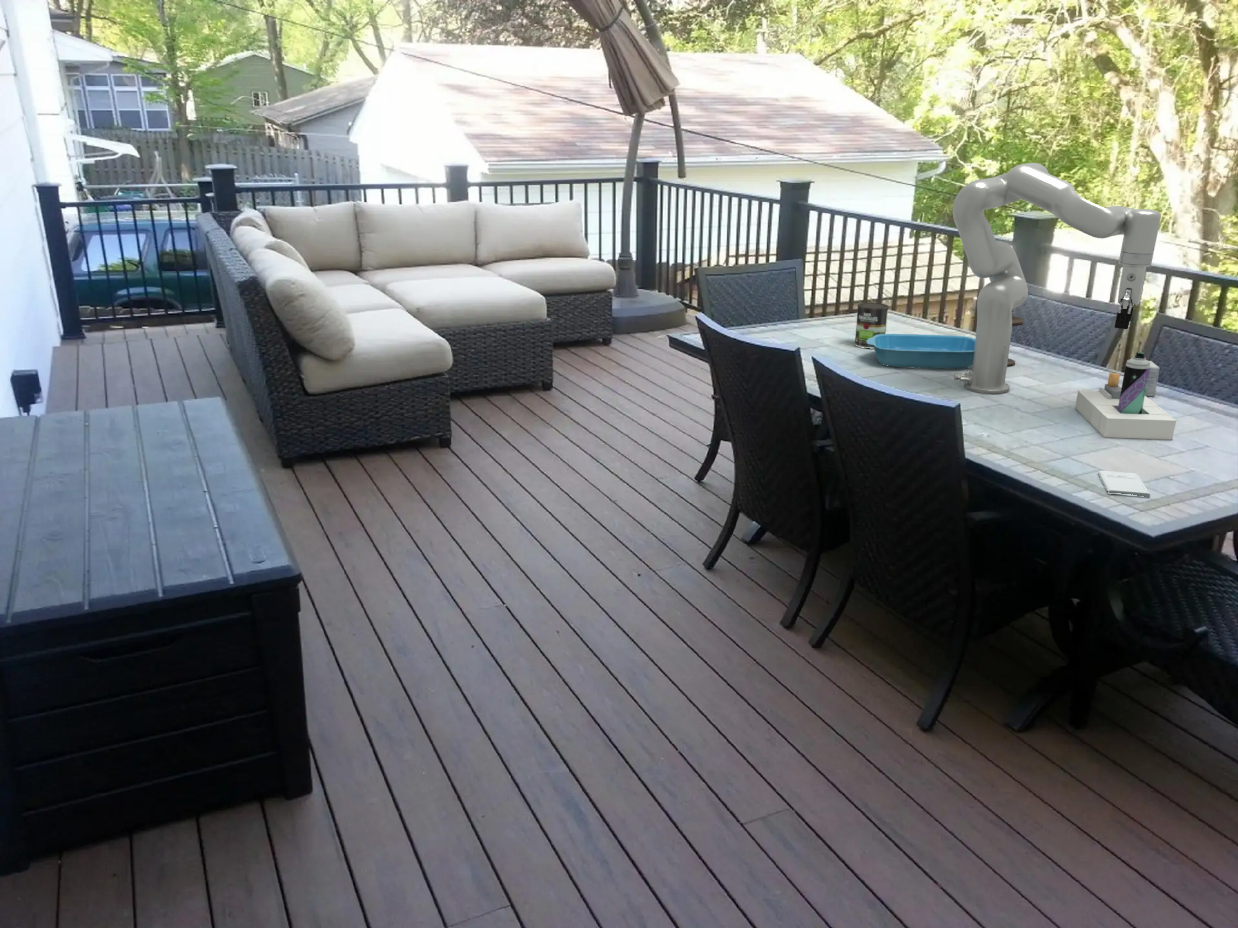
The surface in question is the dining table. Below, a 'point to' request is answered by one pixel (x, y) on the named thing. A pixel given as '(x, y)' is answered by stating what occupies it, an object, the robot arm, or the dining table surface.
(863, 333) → the coffee can
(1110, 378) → the bar
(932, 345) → the casserole dish
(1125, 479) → the external hard drive
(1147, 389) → the medicine box
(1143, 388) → the spray can
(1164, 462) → the dining table surface
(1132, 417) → the block
